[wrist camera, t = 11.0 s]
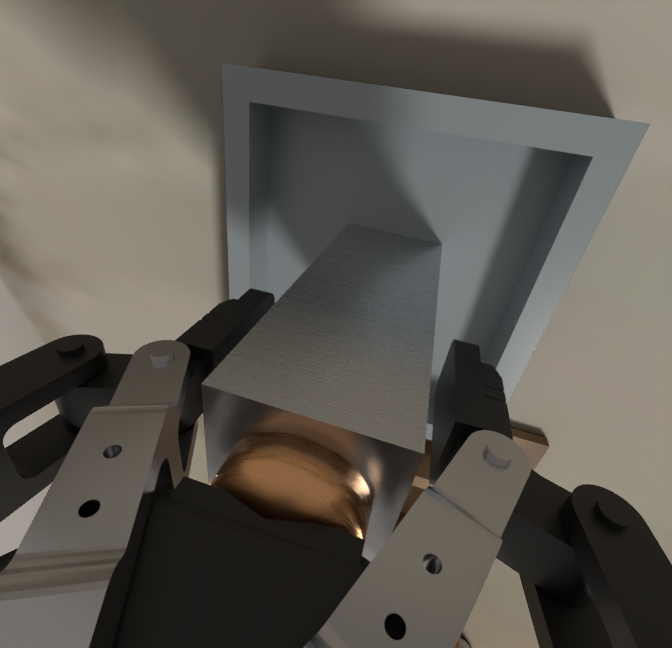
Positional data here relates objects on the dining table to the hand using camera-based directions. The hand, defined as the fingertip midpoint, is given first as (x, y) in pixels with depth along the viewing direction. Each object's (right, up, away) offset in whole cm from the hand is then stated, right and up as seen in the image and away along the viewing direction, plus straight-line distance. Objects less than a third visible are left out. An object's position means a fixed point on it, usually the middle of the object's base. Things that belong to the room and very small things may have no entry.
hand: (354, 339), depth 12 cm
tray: (+2, +3, +5) cm, 6 cm away
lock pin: (+2, +3, +5) cm, 5 cm away
